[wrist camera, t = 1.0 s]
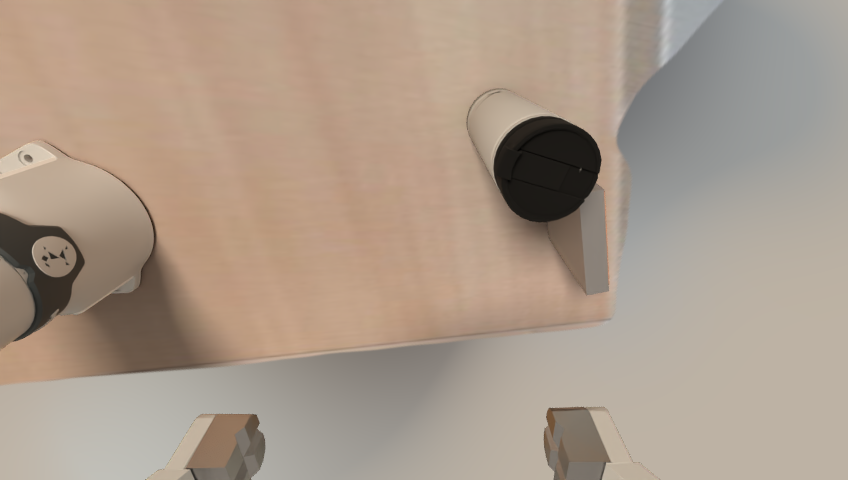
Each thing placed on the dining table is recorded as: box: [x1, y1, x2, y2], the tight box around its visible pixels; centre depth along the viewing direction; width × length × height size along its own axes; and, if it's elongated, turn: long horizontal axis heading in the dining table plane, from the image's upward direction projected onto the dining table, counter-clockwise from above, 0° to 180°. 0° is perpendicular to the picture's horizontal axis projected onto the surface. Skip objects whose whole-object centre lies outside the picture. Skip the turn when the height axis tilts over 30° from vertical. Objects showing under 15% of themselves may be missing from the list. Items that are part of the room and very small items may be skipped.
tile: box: [547, 183, 609, 295], centre depth 40 cm, size 2×10×12 cm, turn 13°
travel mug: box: [467, 89, 601, 222], centre depth 32 cm, size 6×7×20 cm
